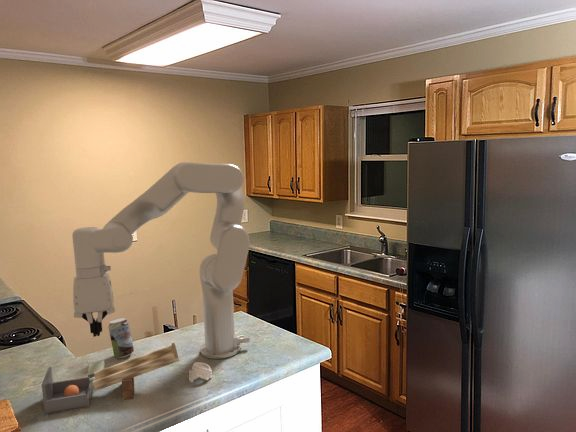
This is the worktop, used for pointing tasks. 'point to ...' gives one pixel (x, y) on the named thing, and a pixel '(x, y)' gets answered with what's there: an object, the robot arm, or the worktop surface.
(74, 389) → the ball
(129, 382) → the fulcrum
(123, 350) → the beverage can
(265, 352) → the worktop surface
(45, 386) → the bin
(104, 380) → the lever
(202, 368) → the grey hollow rounded piece
